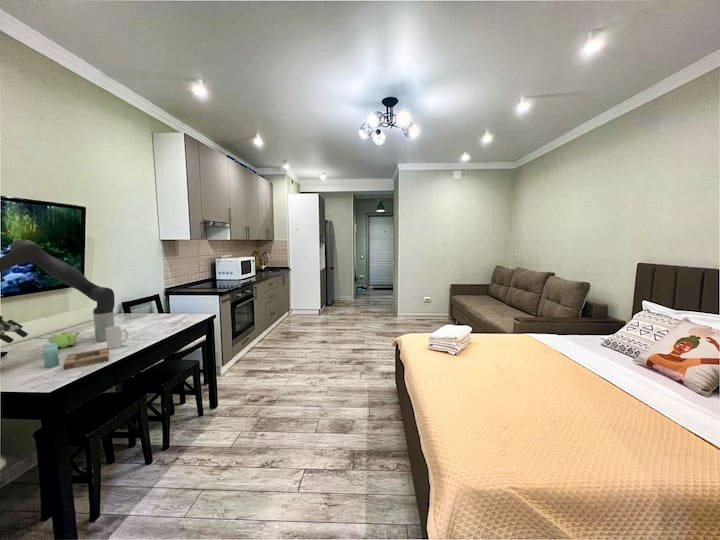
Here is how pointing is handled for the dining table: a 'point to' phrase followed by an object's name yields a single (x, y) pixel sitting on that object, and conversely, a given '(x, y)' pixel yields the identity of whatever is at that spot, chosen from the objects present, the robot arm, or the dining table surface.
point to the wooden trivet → (73, 362)
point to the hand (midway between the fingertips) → (19, 338)
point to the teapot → (64, 339)
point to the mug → (115, 336)
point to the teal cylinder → (50, 355)
